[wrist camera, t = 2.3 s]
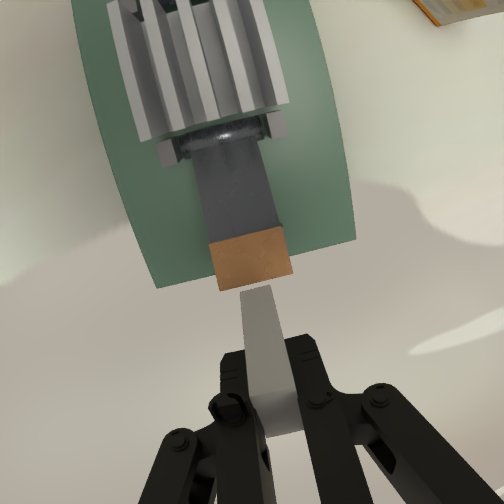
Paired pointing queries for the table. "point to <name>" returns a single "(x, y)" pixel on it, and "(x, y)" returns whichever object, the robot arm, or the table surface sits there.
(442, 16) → the supplement box
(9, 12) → the table surface
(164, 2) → the block
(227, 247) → the strap
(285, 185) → the board
